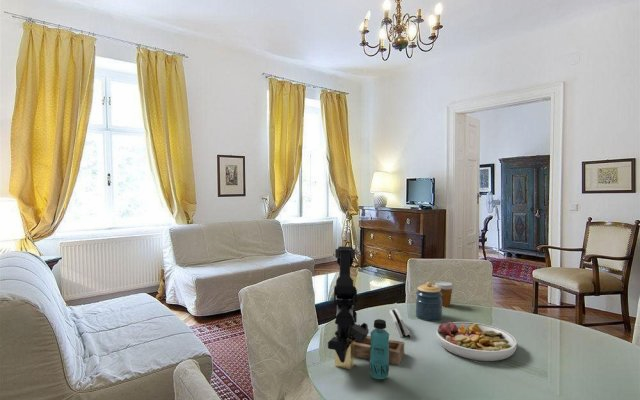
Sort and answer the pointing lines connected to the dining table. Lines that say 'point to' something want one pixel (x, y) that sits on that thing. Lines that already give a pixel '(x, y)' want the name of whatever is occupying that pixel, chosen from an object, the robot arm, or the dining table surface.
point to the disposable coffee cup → (445, 292)
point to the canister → (429, 302)
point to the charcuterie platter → (476, 341)
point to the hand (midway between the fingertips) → (344, 359)
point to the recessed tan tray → (394, 350)
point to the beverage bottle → (379, 350)
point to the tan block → (347, 356)
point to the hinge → (399, 323)
